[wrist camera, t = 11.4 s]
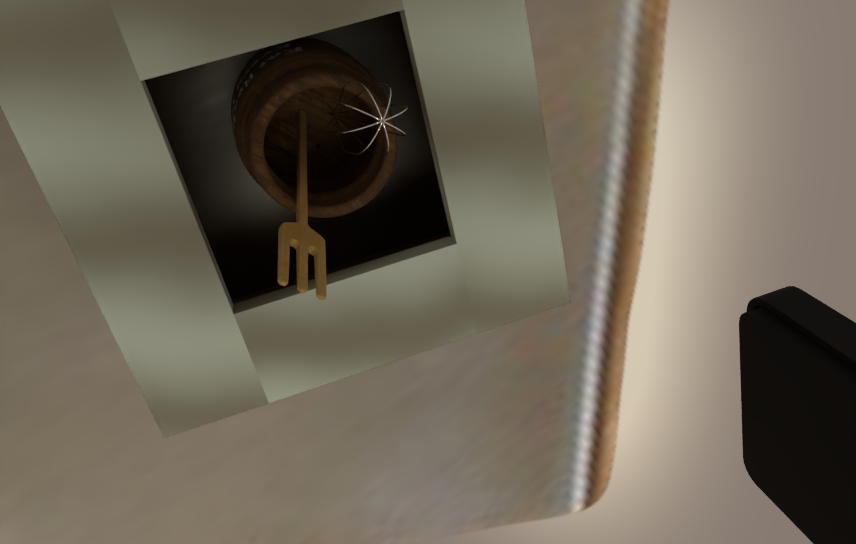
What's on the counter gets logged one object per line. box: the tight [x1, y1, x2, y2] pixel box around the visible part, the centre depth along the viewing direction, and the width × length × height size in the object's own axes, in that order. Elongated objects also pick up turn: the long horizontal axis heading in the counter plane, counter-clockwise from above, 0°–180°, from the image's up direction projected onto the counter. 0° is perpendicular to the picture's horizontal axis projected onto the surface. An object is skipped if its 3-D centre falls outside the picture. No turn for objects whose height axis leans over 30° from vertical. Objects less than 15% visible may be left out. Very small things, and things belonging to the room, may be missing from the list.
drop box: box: [0, 0, 570, 438], centre depth 28 cm, size 16×16×8 cm
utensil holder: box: [231, 38, 408, 300], centre depth 26 cm, size 6×6×12 cm
